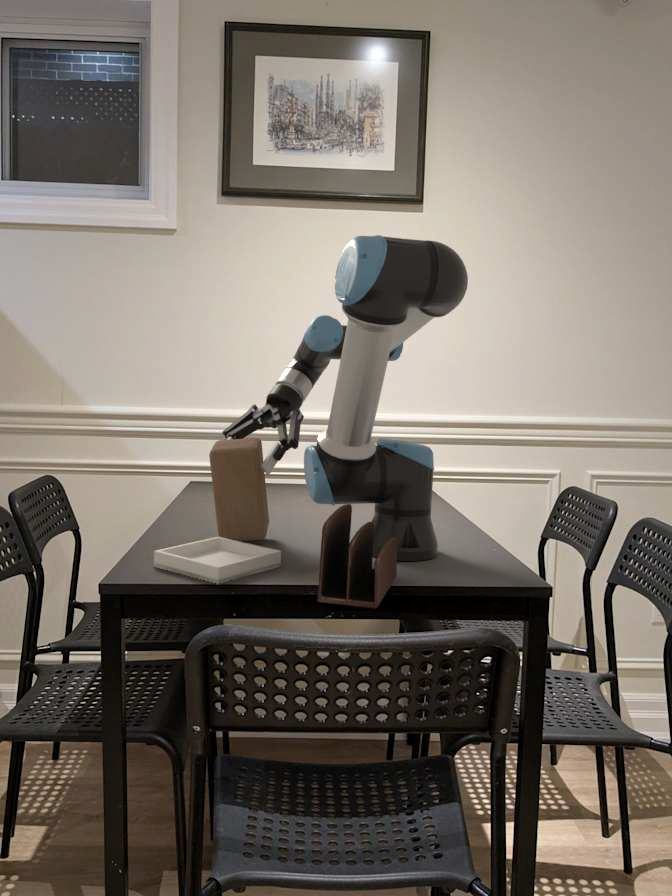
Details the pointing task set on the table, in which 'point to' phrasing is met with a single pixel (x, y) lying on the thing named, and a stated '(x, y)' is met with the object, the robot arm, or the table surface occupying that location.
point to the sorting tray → (217, 559)
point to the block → (239, 489)
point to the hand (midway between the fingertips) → (240, 467)
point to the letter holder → (353, 563)
